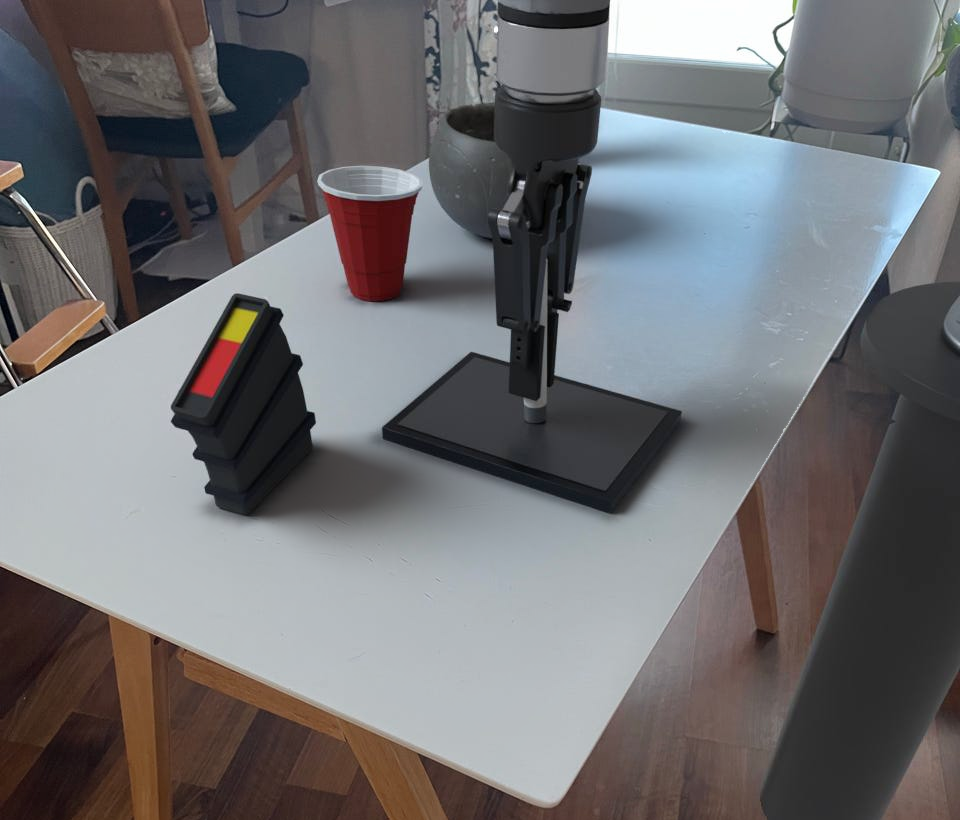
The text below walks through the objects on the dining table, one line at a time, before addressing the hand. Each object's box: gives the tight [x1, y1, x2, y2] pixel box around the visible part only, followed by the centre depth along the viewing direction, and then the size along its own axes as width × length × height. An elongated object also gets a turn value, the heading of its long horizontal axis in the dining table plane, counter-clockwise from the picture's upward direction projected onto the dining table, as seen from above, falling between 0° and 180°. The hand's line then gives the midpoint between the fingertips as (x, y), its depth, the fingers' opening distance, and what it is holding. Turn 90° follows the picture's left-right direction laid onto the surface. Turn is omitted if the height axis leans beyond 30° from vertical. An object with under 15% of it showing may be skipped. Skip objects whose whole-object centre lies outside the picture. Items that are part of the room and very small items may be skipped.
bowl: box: [428, 101, 580, 239], centre depth 115 cm, size 18×18×13 cm
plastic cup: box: [317, 165, 424, 302], centre depth 103 cm, size 11×11×12 cm
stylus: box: [524, 259, 548, 423], centre depth 81 cm, size 2×2×14 cm
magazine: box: [170, 292, 317, 516], centre depth 77 cm, size 4×13×15 cm, turn 157°
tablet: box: [381, 351, 683, 514], centre depth 86 cm, size 22×16×1 cm
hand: (531, 387), depth 84 cm, fingers closed on stylus, 2 cm apart
